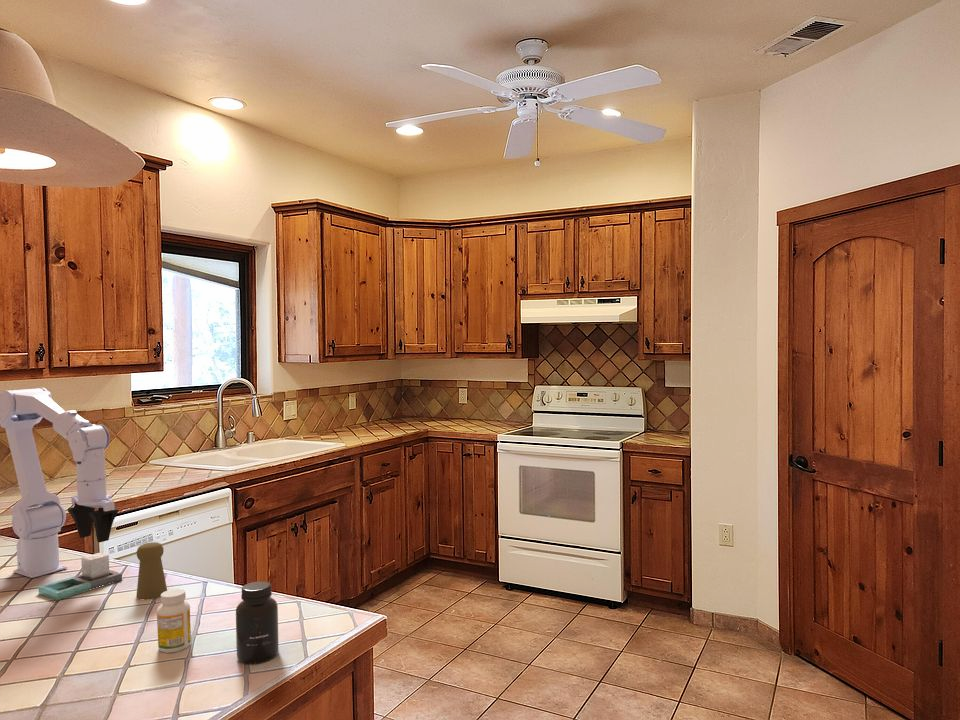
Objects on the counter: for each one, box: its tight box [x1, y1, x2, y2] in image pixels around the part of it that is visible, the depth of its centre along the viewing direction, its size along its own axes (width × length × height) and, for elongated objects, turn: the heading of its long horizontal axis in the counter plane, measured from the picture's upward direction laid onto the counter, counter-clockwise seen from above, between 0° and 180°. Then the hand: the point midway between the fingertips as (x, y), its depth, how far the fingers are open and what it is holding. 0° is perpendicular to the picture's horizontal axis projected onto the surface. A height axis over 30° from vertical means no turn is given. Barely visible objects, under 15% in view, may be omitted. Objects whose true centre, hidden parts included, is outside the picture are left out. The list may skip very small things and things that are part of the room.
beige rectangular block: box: [80, 552, 110, 581], centre depth 156 cm, size 4×4×6 cm
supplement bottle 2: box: [235, 581, 279, 665], centre depth 117 cm, size 7×7×12 cm
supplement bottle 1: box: [156, 588, 192, 654], centre depth 121 cm, size 5×5×10 cm
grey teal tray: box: [38, 569, 123, 601], centre depth 154 cm, size 8×14×2 cm, turn 147°
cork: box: [136, 541, 168, 601], centre depth 147 cm, size 6×6×11 cm
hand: (94, 538), depth 156 cm, fingers open, 7 cm apart
